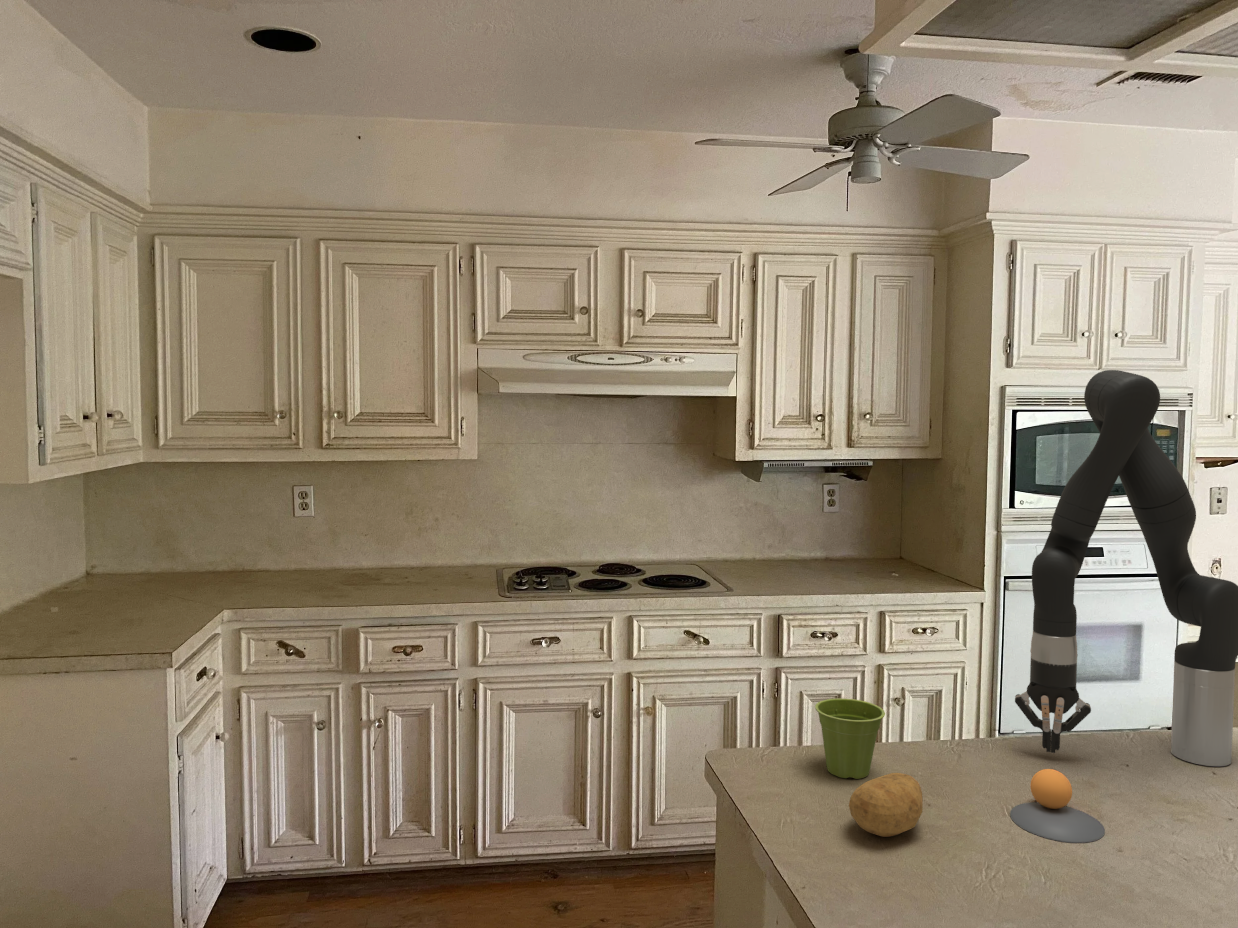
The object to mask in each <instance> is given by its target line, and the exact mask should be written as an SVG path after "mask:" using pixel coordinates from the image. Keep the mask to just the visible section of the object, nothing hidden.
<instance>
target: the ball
mask: <svg viewBox="0 0 1238 928" xmlns="http://www.w3.org/2000/svg"><path fill="white" fill-rule="evenodd" d="M1029 788H1030V792H1031V795H1032V797H1033V798H1034V800H1035V802H1038V803H1040V804H1041V805H1042V806H1044V807H1047V808H1050V809H1059V808H1062V807H1064V806H1068V804H1069V802H1071V800H1072V796H1073V787H1072V784H1071V782H1070V780H1069V778H1067V776H1066V775H1065V774H1063V773H1062V772H1060V771H1058V770H1056V769H1052V768H1045V769H1040V770H1039V771H1037V772H1036V773H1035V774H1034V775H1033V776H1032V778H1031V780H1030V787H1029Z"/></svg>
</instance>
